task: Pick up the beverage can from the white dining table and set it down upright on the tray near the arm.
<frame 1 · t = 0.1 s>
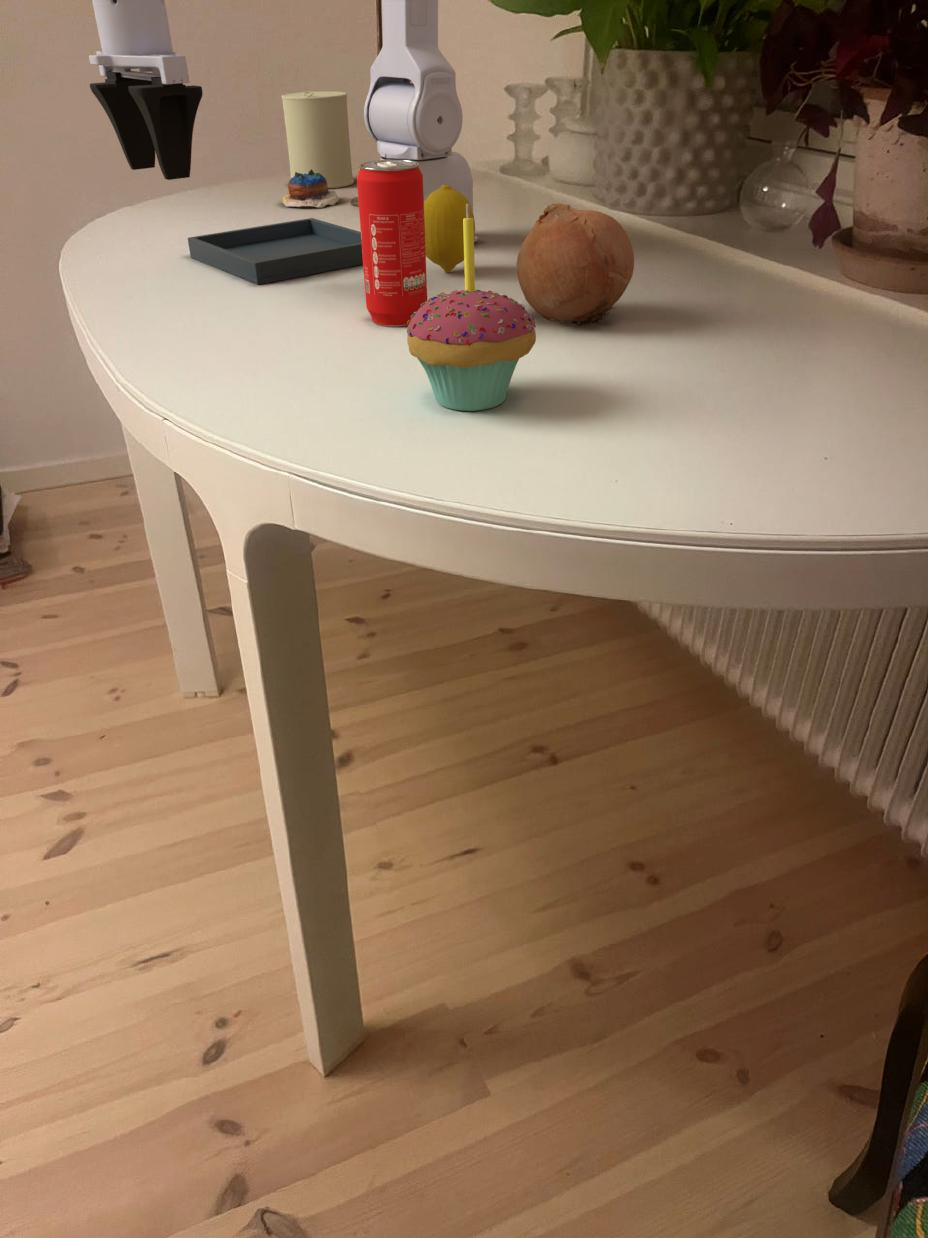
hand: (159, 173, 84), 10 cm above the table, tool pointing down, fingers open, 7 cm apart
cupcake: (472, 401, 64), on the table
beverage can: (397, 321, 80), on the table
dessert: (311, 204, 126), on the table
cream cylindrical container: (322, 185, 138), on the table
onion: (573, 321, 79), on the table
lemon: (448, 274, 94), on the table
tray: (288, 258, 100), on the table
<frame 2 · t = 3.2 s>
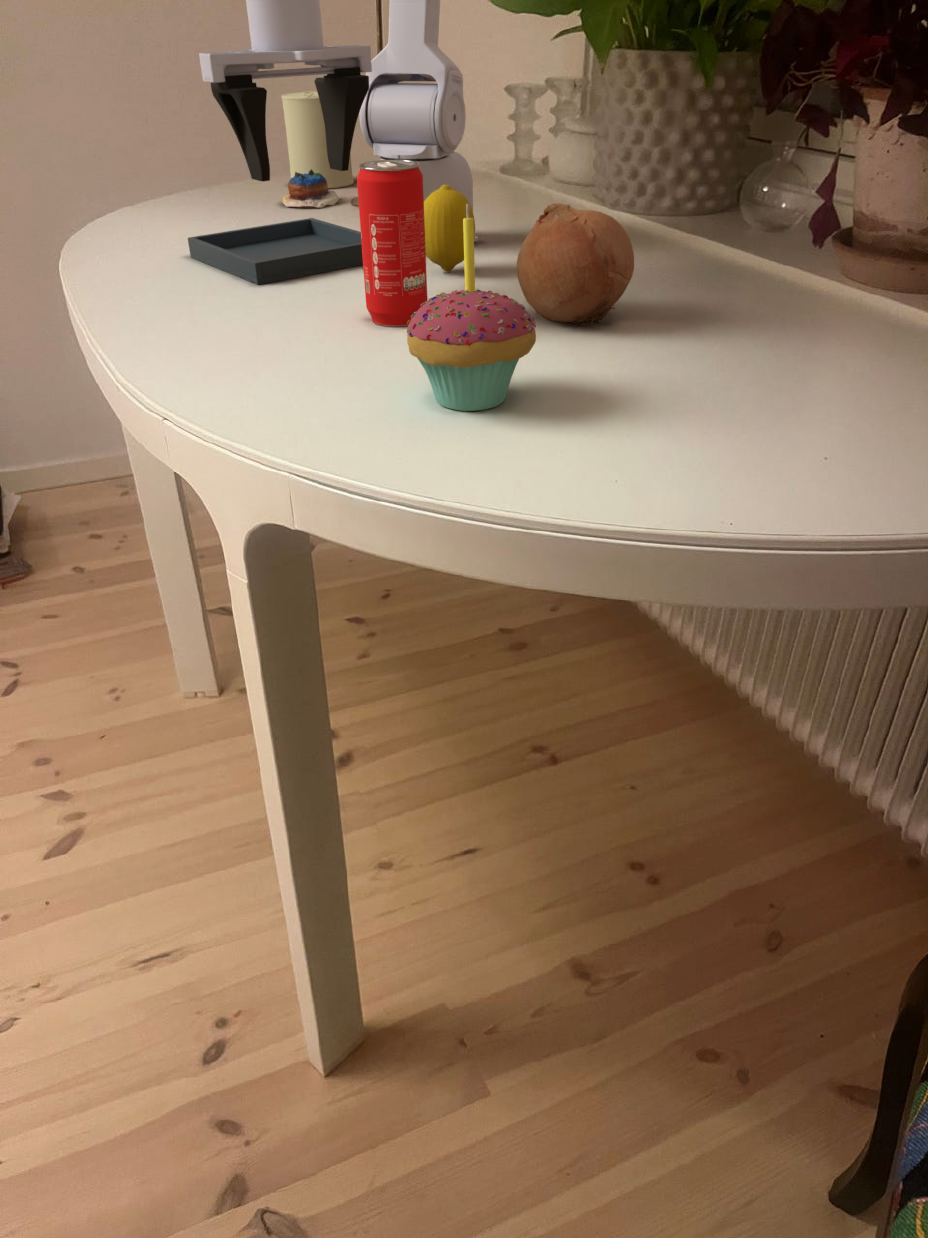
hand: (300, 174, 81), 10 cm above the table, tool pointing down, fingers open, 7 cm apart
nothing on the table moved.
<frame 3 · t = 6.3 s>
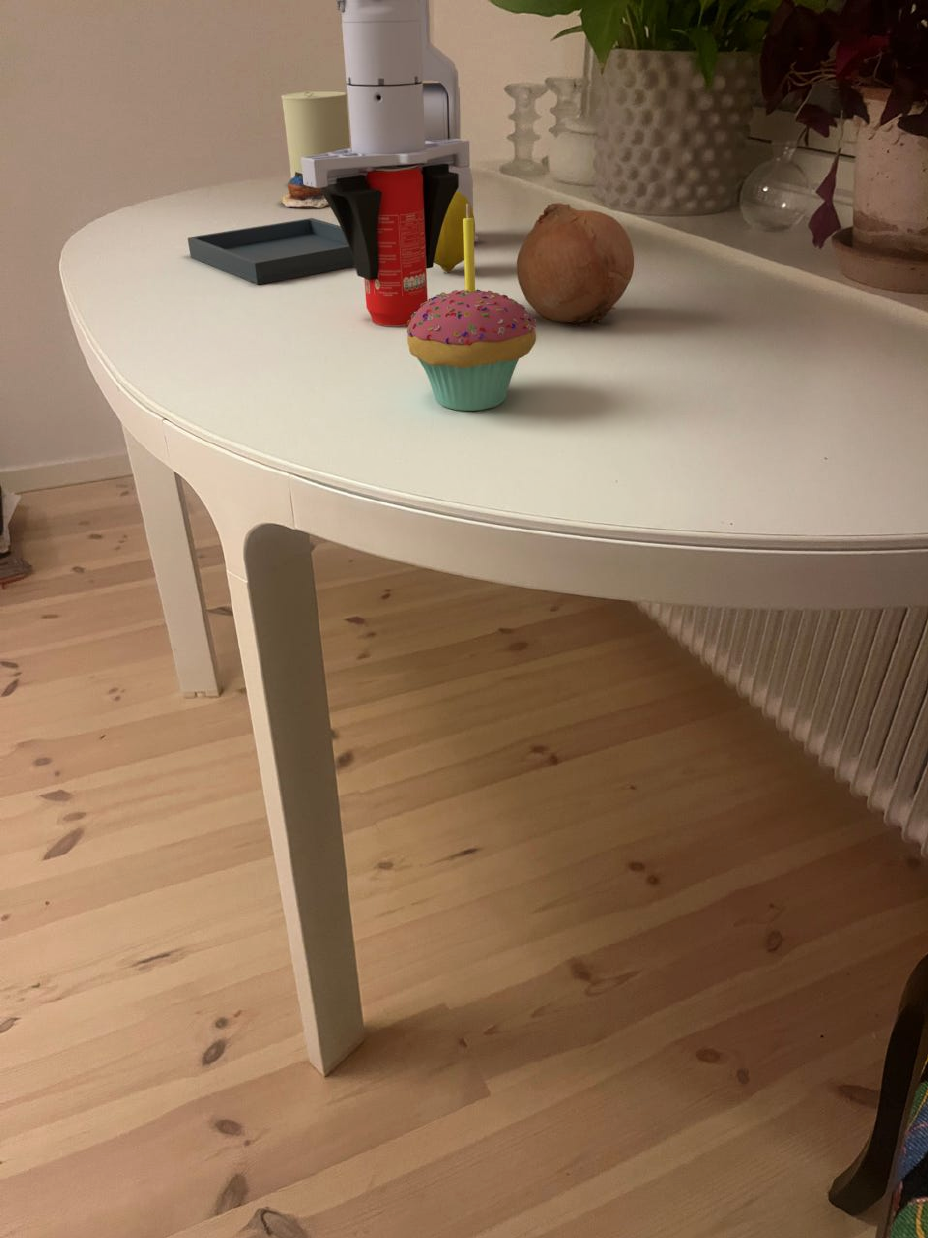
hand: (395, 271, 78), 4 cm above the table, tool pointing down, fingers closed on beverage can, 5 cm apart
beverage can: (398, 321, 80), on the table, touching gripper
everything else where it was.
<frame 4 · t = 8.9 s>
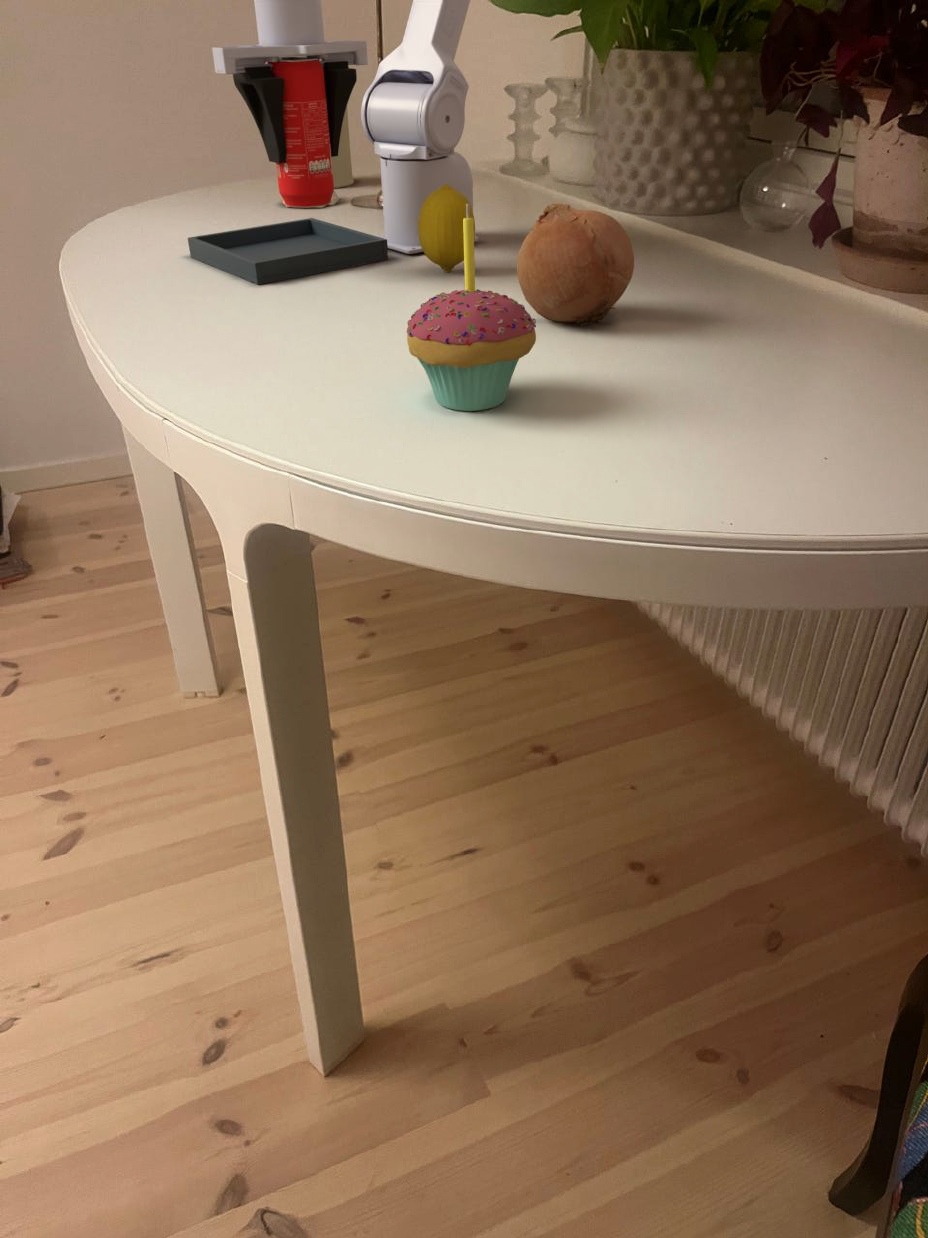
hand: (303, 158, 88), 10 cm above the table, tool pointing down, fingers closed on beverage can, 5 cm apart
beverage can: (308, 205, 91), point 6 cm above the table, touching gripper
everything else where it was.
when the fingers open (4 cm above the table, at t = 11.8 s): beverage can stays where it is, resting on tray.
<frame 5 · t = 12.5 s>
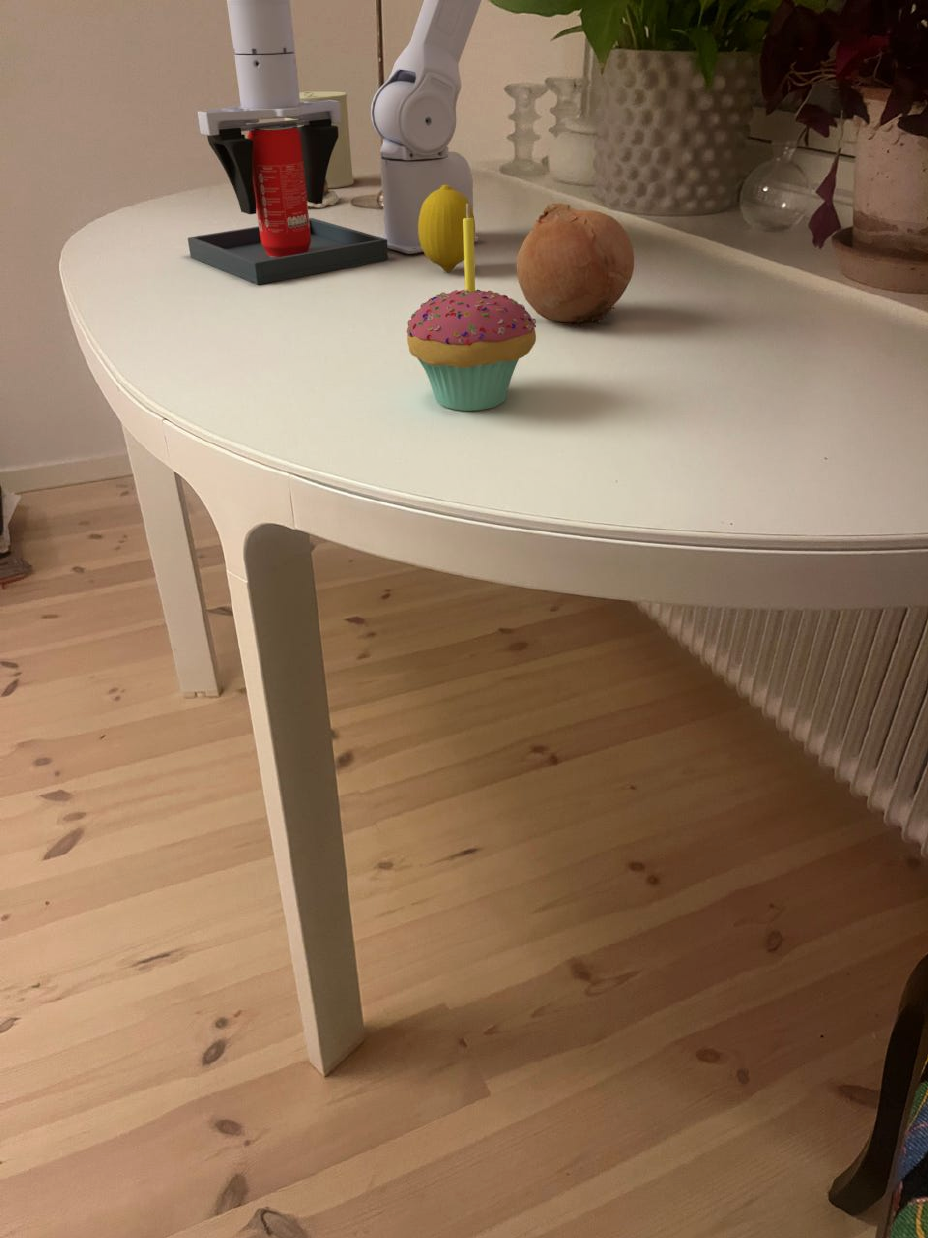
hand: (282, 207, 97), 5 cm above the table, tool pointing down, fingers open, 7 cm apart
beverage can: (287, 255, 99), resting on tray
everything else where it was.
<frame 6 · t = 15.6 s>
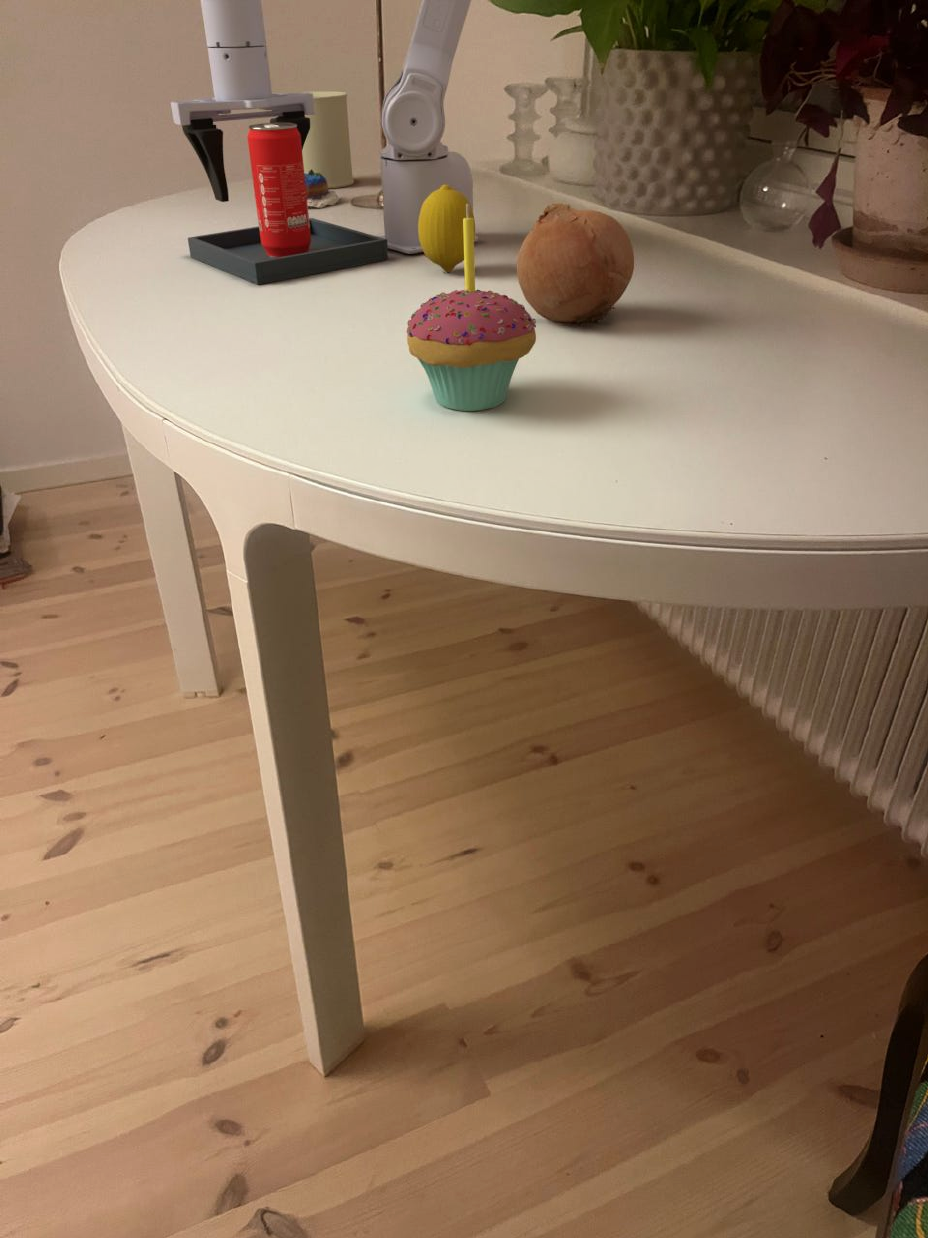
hand: (256, 196, 100), 5 cm above the table, tool pointing down, fingers open, 7 cm apart
nothing on the table moved.
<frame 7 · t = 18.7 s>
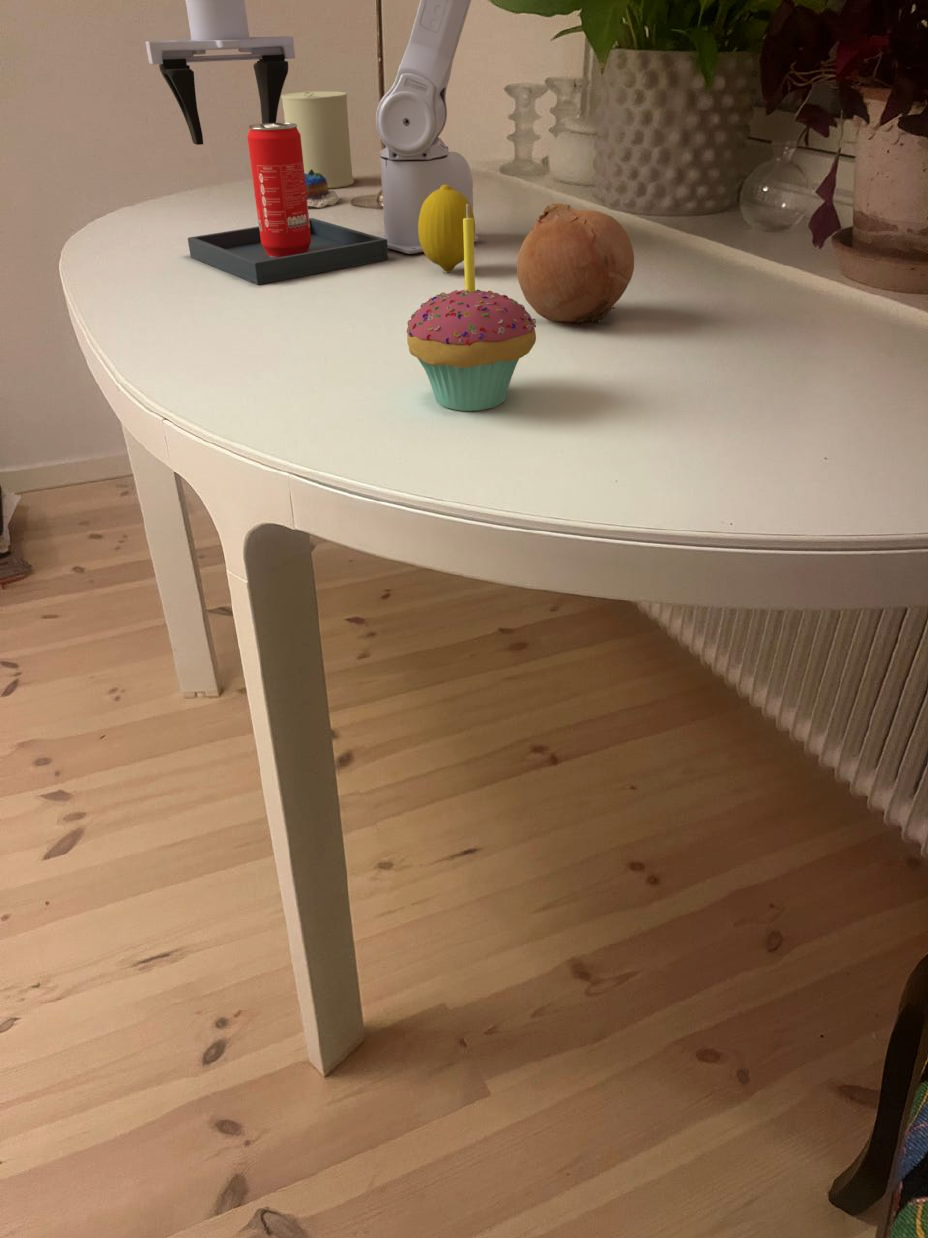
hand: (234, 140, 100), 10 cm above the table, tool pointing down, fingers open, 7 cm apart
nothing on the table moved.
at the end: beverage can inside the target area in the tray (0.0 cm from its centre), point 0.3 cm above the tray's base; beverage can tilted 0° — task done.
